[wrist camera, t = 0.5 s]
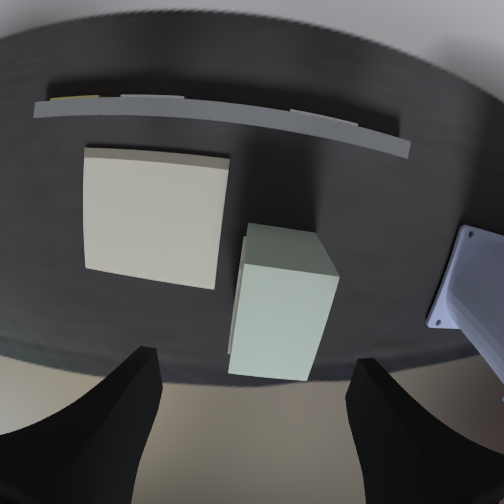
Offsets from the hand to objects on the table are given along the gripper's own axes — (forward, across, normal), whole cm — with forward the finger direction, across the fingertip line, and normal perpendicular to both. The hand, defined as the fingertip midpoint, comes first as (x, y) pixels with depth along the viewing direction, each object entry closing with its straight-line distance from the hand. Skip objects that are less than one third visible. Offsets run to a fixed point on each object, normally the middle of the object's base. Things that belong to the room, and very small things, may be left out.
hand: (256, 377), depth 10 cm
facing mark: (+9, +7, -3) cm, 12 cm away
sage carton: (+9, -1, 0) cm, 9 cm away
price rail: (+9, +3, -9) cm, 13 cm away
